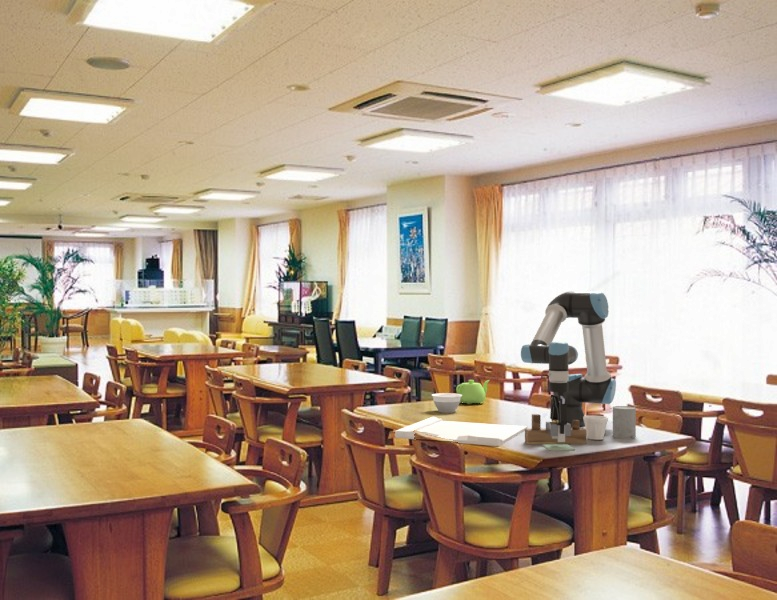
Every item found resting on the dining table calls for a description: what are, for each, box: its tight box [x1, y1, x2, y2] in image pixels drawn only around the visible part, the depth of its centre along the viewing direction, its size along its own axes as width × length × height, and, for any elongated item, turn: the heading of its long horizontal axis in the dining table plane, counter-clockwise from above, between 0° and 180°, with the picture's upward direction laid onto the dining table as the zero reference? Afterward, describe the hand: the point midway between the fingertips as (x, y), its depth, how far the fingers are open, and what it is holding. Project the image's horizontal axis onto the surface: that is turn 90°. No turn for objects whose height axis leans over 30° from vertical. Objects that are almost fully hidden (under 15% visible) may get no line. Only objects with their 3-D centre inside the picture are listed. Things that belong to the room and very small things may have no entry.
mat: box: [541, 444, 576, 452], centre depth 311 cm, size 10×10×1 cm
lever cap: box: [545, 419, 572, 436], centre depth 311 cm, size 7×8×6 cm
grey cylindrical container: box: [612, 405, 637, 439], centre depth 338 cm, size 10×10×12 cm
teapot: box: [455, 379, 491, 405], centre depth 444 cm, size 22×15×13 cm
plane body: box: [524, 413, 587, 445], centre depth 323 cm, size 5×24×12 cm, turn 94°
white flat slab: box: [394, 415, 528, 447], centre depth 345 cm, size 45×45×4 cm
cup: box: [583, 415, 609, 441], centre depth 331 cm, size 10×10×9 cm
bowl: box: [431, 392, 462, 414], centre depth 412 cm, size 16×16×9 cm
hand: (558, 440), depth 311 cm, fingers closed on lever cap, 7 cm apart
